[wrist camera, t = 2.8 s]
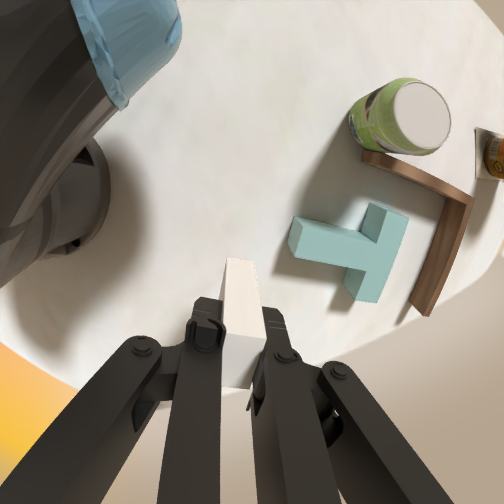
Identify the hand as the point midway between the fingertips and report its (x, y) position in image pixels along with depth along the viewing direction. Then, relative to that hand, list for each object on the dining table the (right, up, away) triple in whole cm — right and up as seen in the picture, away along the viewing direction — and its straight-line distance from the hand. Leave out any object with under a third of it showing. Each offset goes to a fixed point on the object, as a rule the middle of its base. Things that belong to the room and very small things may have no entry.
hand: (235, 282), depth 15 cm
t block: (+11, +3, +14) cm, 18 cm away
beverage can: (+13, +15, +10) cm, 22 cm away
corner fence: (+18, +3, +14) cm, 23 cm away
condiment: (+36, +16, +11) cm, 40 cm away
